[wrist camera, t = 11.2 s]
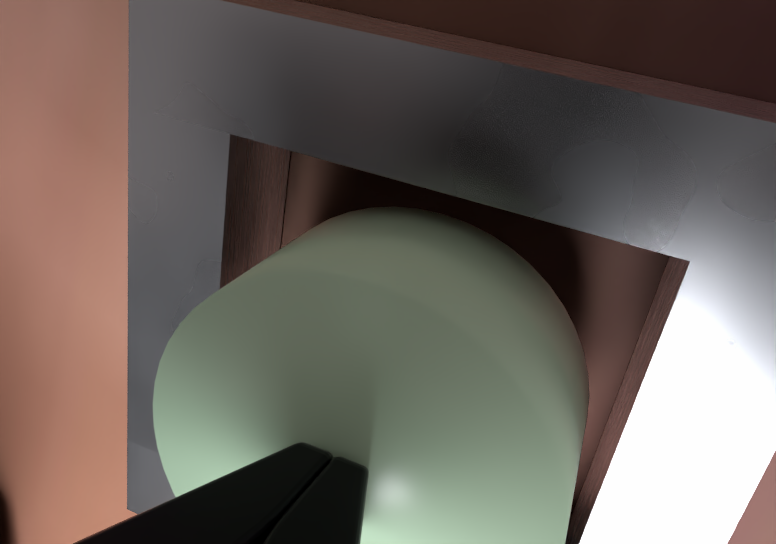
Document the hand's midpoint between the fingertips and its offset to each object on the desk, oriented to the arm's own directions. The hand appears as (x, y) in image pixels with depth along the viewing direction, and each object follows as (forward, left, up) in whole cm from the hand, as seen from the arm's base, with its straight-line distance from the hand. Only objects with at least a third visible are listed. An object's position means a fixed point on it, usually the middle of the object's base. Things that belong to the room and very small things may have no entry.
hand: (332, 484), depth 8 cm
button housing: (0, 0, -4) cm, 4 cm away
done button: (0, 0, -2) cm, 3 cm away
